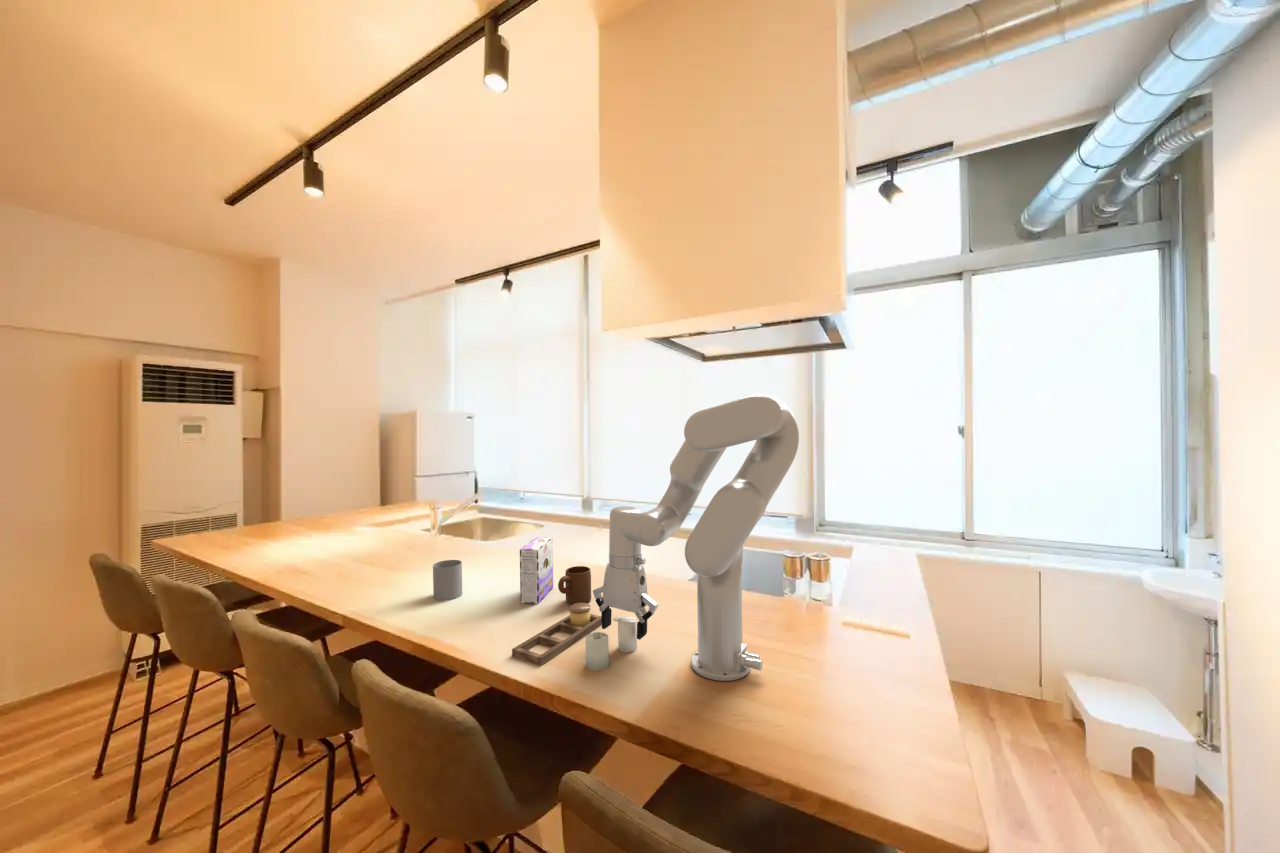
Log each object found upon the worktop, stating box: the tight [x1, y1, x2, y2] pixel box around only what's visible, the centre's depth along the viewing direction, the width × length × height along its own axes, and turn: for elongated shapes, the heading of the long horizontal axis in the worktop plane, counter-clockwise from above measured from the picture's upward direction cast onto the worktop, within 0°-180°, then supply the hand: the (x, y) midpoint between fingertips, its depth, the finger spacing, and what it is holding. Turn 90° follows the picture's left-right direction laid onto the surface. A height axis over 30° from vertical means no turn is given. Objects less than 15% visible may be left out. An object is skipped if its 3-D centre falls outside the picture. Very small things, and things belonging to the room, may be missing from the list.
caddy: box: [511, 613, 602, 666], centre depth 115 cm, size 9×24×2 cm, turn 150°
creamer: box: [613, 616, 638, 653], centre depth 110 cm, size 6×4×6 cm
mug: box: [557, 565, 592, 606], centre depth 137 cm, size 12×8×9 cm, turn 147°
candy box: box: [519, 537, 554, 605], centre depth 144 cm, size 14×6×16 cm, turn 172°
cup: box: [432, 559, 463, 602], centre depth 145 cm, size 8×8×10 cm
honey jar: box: [569, 602, 591, 627], centre depth 122 cm, size 5×5×5 cm
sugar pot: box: [585, 631, 610, 672], centre depth 102 cm, size 5×5×7 cm
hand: (623, 631), depth 110 cm, fingers open, 9 cm apart
